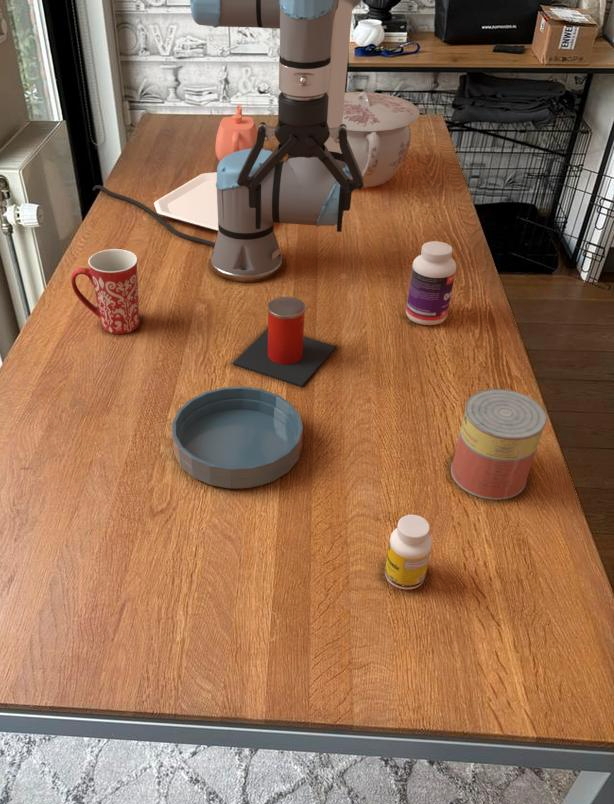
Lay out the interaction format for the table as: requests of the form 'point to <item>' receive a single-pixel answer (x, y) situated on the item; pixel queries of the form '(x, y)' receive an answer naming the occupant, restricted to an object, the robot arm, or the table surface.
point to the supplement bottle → (408, 552)
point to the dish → (237, 437)
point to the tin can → (285, 330)
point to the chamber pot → (378, 133)
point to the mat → (291, 373)
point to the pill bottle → (431, 284)
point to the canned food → (497, 443)
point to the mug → (113, 289)
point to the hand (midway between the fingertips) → (298, 226)
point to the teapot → (235, 134)
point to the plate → (192, 202)
